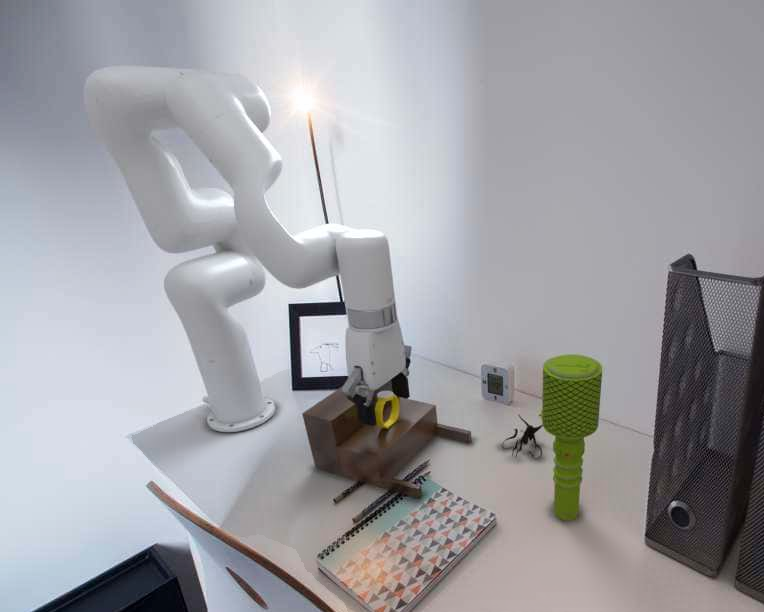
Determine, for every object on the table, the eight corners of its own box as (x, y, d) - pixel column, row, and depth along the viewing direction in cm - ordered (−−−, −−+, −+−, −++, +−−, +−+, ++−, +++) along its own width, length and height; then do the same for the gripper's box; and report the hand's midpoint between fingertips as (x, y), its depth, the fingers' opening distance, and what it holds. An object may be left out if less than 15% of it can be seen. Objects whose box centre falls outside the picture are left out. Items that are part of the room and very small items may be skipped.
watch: (387, 435, 89) (382, 404, 86) (373, 432, 89) (367, 401, 86) (404, 417, 93) (400, 387, 91) (390, 414, 94) (386, 385, 91)
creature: (534, 470, 91) (555, 439, 96) (531, 448, 87) (552, 418, 92) (495, 457, 94) (517, 428, 99) (491, 436, 91) (513, 407, 96)
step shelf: (315, 468, 91) (301, 413, 86) (377, 417, 105) (369, 368, 100) (419, 499, 83) (411, 441, 78) (471, 440, 97) (468, 387, 92)
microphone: (589, 496, 83) (599, 349, 70) (593, 530, 76) (606, 375, 64) (537, 495, 83) (539, 349, 71) (537, 529, 77) (539, 375, 64)
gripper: (384, 294, 90) (395, 383, 98) (314, 330, 76) (334, 430, 85) (422, 300, 87) (430, 391, 96) (356, 338, 73) (372, 440, 82)
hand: (385, 409), depth 90 cm, fingers open, 9 cm apart
